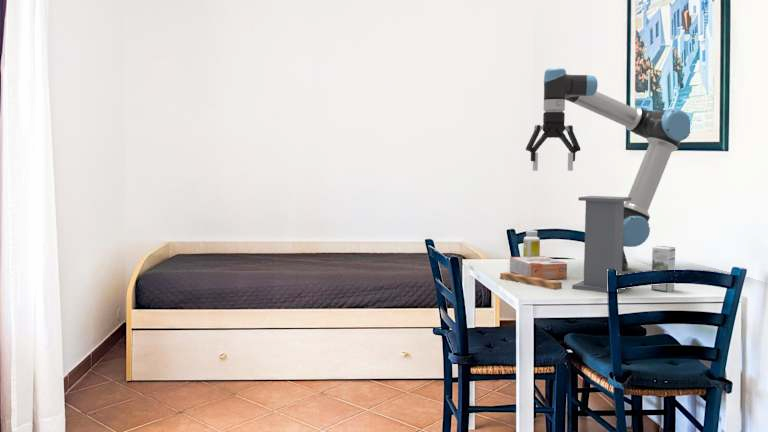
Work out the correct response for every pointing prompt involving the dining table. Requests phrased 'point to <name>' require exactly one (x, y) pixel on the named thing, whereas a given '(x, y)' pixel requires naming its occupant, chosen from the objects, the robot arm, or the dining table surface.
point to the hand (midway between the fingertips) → (552, 170)
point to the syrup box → (663, 264)
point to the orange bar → (531, 280)
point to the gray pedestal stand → (602, 240)
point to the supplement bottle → (531, 244)
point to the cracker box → (538, 267)
